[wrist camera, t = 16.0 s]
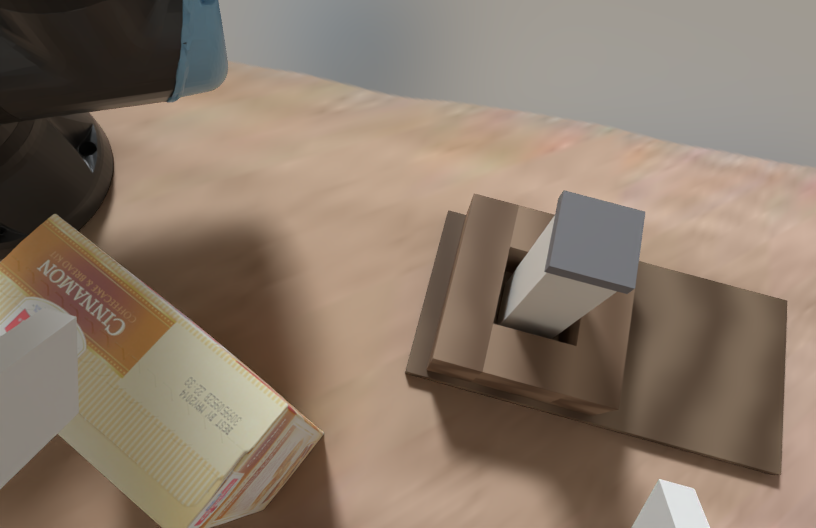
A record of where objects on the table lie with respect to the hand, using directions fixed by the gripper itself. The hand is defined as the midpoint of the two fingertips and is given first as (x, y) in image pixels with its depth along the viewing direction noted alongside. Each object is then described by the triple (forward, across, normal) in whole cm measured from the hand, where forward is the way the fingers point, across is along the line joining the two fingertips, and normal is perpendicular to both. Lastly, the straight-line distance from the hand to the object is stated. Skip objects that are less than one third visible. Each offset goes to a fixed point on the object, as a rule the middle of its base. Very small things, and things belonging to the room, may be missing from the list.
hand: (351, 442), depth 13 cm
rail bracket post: (+32, +9, -12) cm, 35 cm away
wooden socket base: (+32, +16, -13) cm, 38 cm away
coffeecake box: (+23, -12, -22) cm, 34 cm away
